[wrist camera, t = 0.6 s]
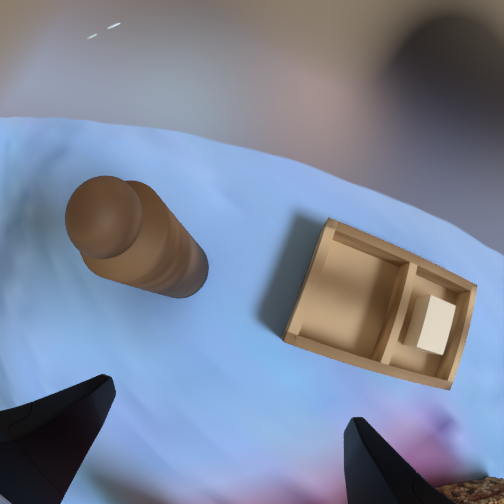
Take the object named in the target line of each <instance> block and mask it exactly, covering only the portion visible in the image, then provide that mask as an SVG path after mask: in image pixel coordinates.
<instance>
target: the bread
mask: <svg viewBox="0 0 504 504" xmlns="http://www.w3.org/2000/svg"><path fill="white" fill-rule="evenodd" d="M435 488H436V489H437V490H438V491H440V492H441V493H442V494H444V495H445V496H447V497H448V498H449V499H451V500H452V501H454V502H455V503H457V504H504V480H503V478H500V479H498V478H496V477H486V478H484V479H480V480H472V481H467V482H461V483H457V484H450V485H443V486H441V487H435Z"/></svg>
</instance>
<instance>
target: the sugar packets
mask: <svg viewBox="0 0 504 504" xmlns="http://www.w3.org/2000/svg"><path fill="white" fill-rule="evenodd" d="M455 308H456V306H455V305H453V304H450V303H448V302H446V301H444V300H441V299H439V298H437V297H434V296H432V295H428V296H423V297H418V298H417V299H416V303H415V307H414V311H413V314H412V318H411V321H410V325H409V328H408V331H407V334H406V337H405V341H404V344H403V345H405V346H408V347H411V348H414V349H417V350H420V351H423V352H427V353H431V354H439V355H443V353H444V350H445V347H446V343H447V340H448V336H449V332H450V329H451V325H452V321H453V317H454V312H455Z"/></svg>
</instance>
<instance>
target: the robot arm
mask: <svg viewBox="0 0 504 504" xmlns="http://www.w3.org/2000/svg"><path fill="white" fill-rule="evenodd" d="M115 395H116V390H115V386H114V382H113V379H112V377H110V376H108V375H105V374H101V375H98V376H96V377H93V378H91V379H89V380H86V381H84V382H81V383H79V384H77V385H74V386H72V387H69V388H67V389H64V390H62V391H59V392H57V393H54V394H51V395H49V396H46V397H44V398H41V399H38V400H35V401H34V402H30V403H27V404H24V405H21V406H18V407H15V408H11V409H7V410H2V411H0V504H61V502H62V500H63V498H64V495H65V493H66V492H67V490H68V488H69V486H70V484H71V482H72V480H73V478H74V476H75V474H76V473H77V471H78V469H79V467H80V465H81V463H82V462H83V460H84V458H85V456H86V454H87V453H88V451H89V449H90V447H91V445H92V444H93V442H94V440H95V438H96V437H97V435H98V433H99V431H100V430H101V428H102V426H103V424H104V422H105V419H106V417H107V415H108V412H109V410H110V408H111V405H112V403H113V401H114V398H115ZM344 473H345V481H346V490H347V499H348V504H457V503H455V502H454V501H452V500H451V499H449V498H448V497H447V496H445V495H444V494H442V493H441V492H440V491H438V490H437V489H436V488H434V487H433V486H432V485H431V484H429V483H428V482H427V481H426V480H425V479H424V478H423V477H422V476H421V475H420V474H419V473H418V472H416V471H415V470H414V469H413V468H412V467H411V466H410V465H409V464H408V463H407V462H406V461H405V460H404V459H403V458H402V457H401V456H400V455H399V454H398V453H397V452H396V451H395V450H394V449H393V448H392V447H391V446H390V445H389V444H388V443H387V442H386V441H385V440H384V438H383V437H382V436H381V435H380V434H379V433H378V432H377V431H376V430H375V429H374V428H373V427H372V426H371V425H370V424H369V423H368V422H367V421H366V420H365V419H364V418H363V417H353V418H351V420H350V422H349V423H348V425H347V427H346V429H345V431H344Z"/></svg>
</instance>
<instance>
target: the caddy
mask: <svg viewBox="0 0 504 504" xmlns="http://www.w3.org/2000/svg"><path fill="white" fill-rule="evenodd" d="M476 291H477V285H475V284H473V283H472V282H470V281H468V280H466V279H464V278H462V277H460V276H458V275H456V274H454V273H452V272H450V271H448V270H446V269H444V268H442V267H440V266H438V265H436V264H434V263H432V262H430V261H428V260H426V259H424V258H421V257H419V256H417V255H415V254H413V253H411V252H409V251H406V250H404V249H402V248H400V247H398V246H395V245H393V244H391V243H389V242H386V241H384V240H382V239H379V238H377V237H375V236H372V235H370V234H368V233H365V232H363V231H361V230H358V229H356V228H353V227H351V226H349V225H346V224H344V223H341V222H339V221H336V220H334V219H331V218H328V220H327V221H326V223H325V224H324V226H323V228H322V229H321V232H320V235H319V238H318V241H317V244H316V247H315V250H314V253H313V256H312V259H311V261H310V264H309V267H308V270H307V273H306V275H305V278H304V281H303V284H302V286H301V289H300V292H299V294H298V297H297V299H296V302H295V305H294V307H293V310H292V312H291V315H290V318H289V320H288V323H287V325H286V328H285V330H284V333H283V335H282V337H281V340H282V341H283V342H285V343H288V344H291V345H294V346H296V347H299V348H302V349H305V350H308V351H311V352H314V353H316V354H319V355H322V356H325V357H328V358H331V359H334V360H338V361H341V362H344V363H347V364H350V365H353V366H357V367H360V368H363V369H367V370H370V371H374V372H377V373H381V374H384V375H388V376H392V377H395V378H399V379H403V380H407V381H411V382H415V383H419V384H423V385H427V386H432V387H436V388H441V389H445V390H450V389H451V386H452V383H453V381H454V378H455V375H456V372H457V369H458V366H459V363H460V360H461V356H462V353H463V350H464V346H465V342H466V339H467V335H468V331H469V327H470V322H471V318H472V313H473V308H474V303H475V297H476ZM428 295H432V296H434V297H437V298H439V299H441V300H444V301H446V302H448V303H450V304H453V305H455V306H456V308H455V312H454V317H453V321H452V325H451V329H450V332H449V336H448V340H447V343H446V347H445V350H444V353H443V355H439V354H431V353H427V352H423V351H420V350H417V349H414V348H411V347H408V346H405V345H403V344H404V341H405V337H406V334H407V331H408V328H409V325H410V321H411V318H412V314H413V311H414V307H415V303H416V299H417V298H418V297H423V296H428Z"/></svg>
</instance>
